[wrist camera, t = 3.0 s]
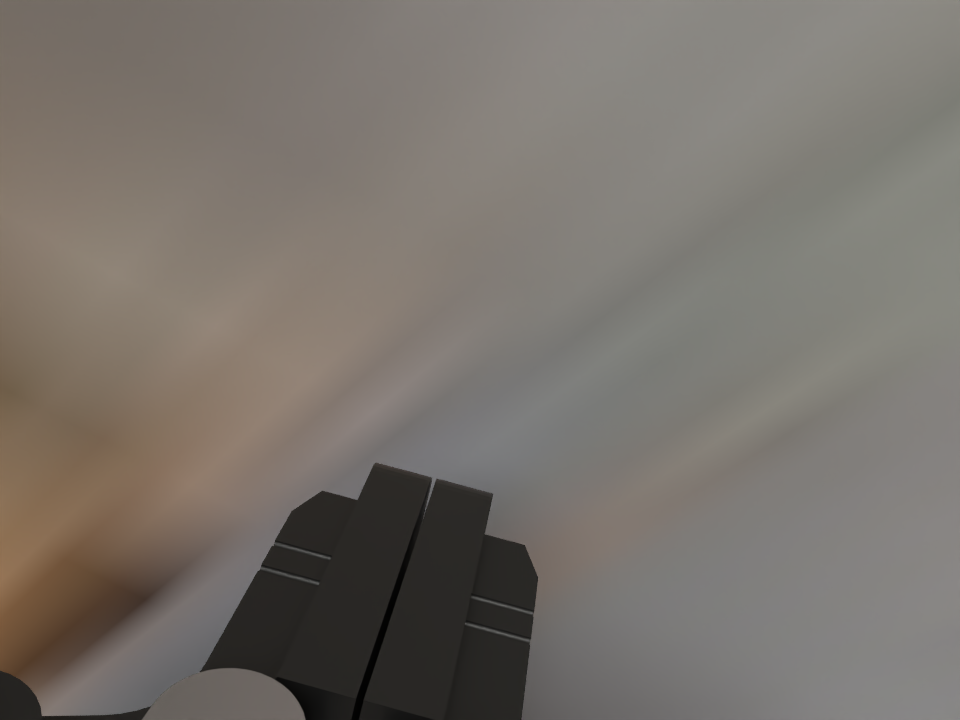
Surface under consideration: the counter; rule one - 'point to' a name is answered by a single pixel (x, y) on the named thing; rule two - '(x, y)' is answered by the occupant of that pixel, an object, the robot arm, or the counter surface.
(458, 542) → the robot arm
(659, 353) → the counter surface
